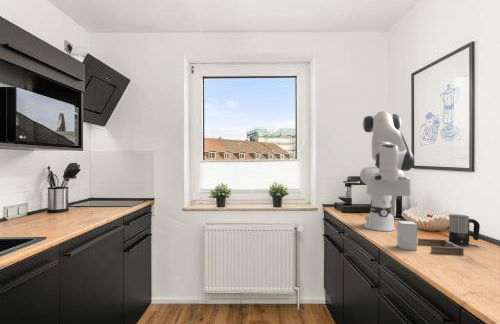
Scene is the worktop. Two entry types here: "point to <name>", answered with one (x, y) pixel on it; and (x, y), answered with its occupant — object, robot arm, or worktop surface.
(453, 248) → the walnut corral
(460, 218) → the milk frother
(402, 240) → the supplement box
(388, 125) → the robot arm
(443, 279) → the worktop surface
